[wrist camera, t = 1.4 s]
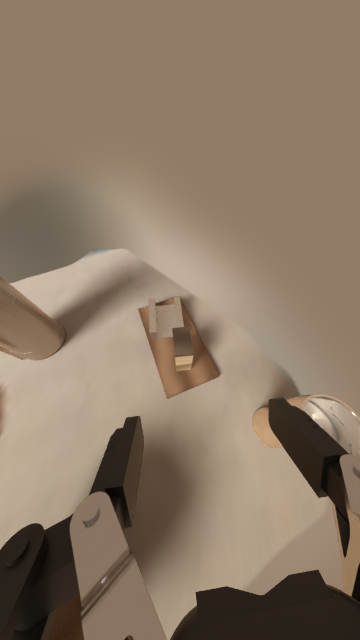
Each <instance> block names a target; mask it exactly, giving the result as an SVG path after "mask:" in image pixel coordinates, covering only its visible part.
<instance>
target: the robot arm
mask: <svg viewBox="0 0 360 640" xmlns="http://www.w3.org/2000/svg"><path fill="white" fill-rule="evenodd" d="M64 340H65V331H64V329H63V328H62V327H61V326H60V325H59V324H58V323H57V322H55V321H54V320H53V319H52V318H51V317H49V316H48V315H47V314H46V313H45V312H43V311H42V310H41V309H40V308H38V307H37V306H36V305H35V304H34V303H32V302H31V301H30V300H29V299H27V298H26V297H25V296H24V295H23V294H21V293H20V292H19V291H18V290H16V289H15V288H14V287H13V286H11V285H10V284H9V283H8V282H7V281H5V280H4V279H3V278H2V277H0V351H2V352H4V353H7V354H9V355H12V356H14V357H17V358H19V359H21V360H23V359H31V360H41V359H44V358H47V357H49V356H51V355H52V354H54V353H55V352H56V351H57V350H58V349H59V348H60V347H61V346H62V344H63V342H64ZM268 421H269V425H270V428H271V430H272V432H273V433H274V434H275V436H276V437H277V439H278V440H279V442H280V443H281V445H282V446H283V447H284V449H285V450H286V452H287V453H288V455H289V456H290V457H291V459H292V460H293V462H294V463H295V465H296V466H297V467H298V469H299V470H300V472H301V473H302V475H303V476H304V477H305V479H306V480H307V482H308V483H309V485H310V486H311V487H312V489H313V490H314V492H315V493H316V495H317V496H318V497H319V498H320V497H326V496H329V498H330V499H331V500H332V502H333V513H334V519H335V525H336V532H337V538H338V544H339V551H340V557H341V564H342V588H343V591H341V590H339V589H337V588H335V587H332V586H330V585H327V584H325V582H324V580H323V578H322V576H321V574H320V573H319V570H314V571H309V572H303V573H297V574H292V575H288V576H287V577H286V578H285V579H284V580H282V581H281V582H280V583H279V584H277V585H276V586H275V587H274V588H272V589H271V590H270V591H269V592H267V593H266V594H265V595H256V594H253V593H249V592H245V591H242V590H238V589H234V588H230V587H221V588H216V589H210V590H205V591H199V592H196V600H197V606H196V607H195V608H193V609H192V610H191V611H190V612H189V613H188V614H187V615H186V616H185V617H184V618H183V619H182V621H181V622H180V624H179V625H178V627H177V628H176V630H175V632H174V633H173V635H172V637H171V639H170V640H360V457H358V456H355V455H351V454H349V453H348V452H347V451H346V450H345V449H344V448H343V447H342V446H341V445H340V444H338V443H337V442H336V441H335V440H334V439H333V438H332V437H331V436H330V435H329V434H328V433H327V432H326V431H325V430H324V429H323V428H322V427H320V426H319V425H318V424H317V423H316V422H315V421H313V419H312V418H311V417H310V416H309V415H308V414H307V413H306V412H305V411H303V410H301V409H300V408H298V407H296V406H291V405H290V404H289V403H288V402H287V401H286V400H285V399H284V398H275V399H270V400H269V416H268ZM143 448H144V437H143V431H142V425H141V419H140V416H134V417H127V418H126V420H125V423H124V426H123V428H120V429H117V430H116V431H115V432H114V433H113V435H112V436H111V437H110V440H109V443H108V445H107V449H106V451H105V453H104V457H103V459H102V462H101V464H100V467H99V470H98V472H97V475H96V478H95V481H94V483H93V486H92V489H91V491H90V494H89V496H88V497H87V498H85V499H84V500H83V501H82V502H81V503H80V505H79V506H78V507H77V509H76V510H75V512H74V514H72V515H71V516H70V517H68V518H66V519H65V520H63V521H61V522H59V523H57V524H55V525H53V526H51V527H50V528H48V529H46V530H44V529H43V526H42V525H40V524H37V523H35V524H30V525H28V526H26V527H24V528H22V529H21V530H20V531H18V532H17V533H16V534H15V535H13V536H12V537H11V538H10V539H9V540H8V541H7V542H6V544H5V545H4V546H3V547H2V548H1V550H0V640H48V638H49V634H50V631H51V628H52V625H53V621H54V618H55V615H56V612H57V609H58V608H59V607H60V606H62V605H63V604H65V603H66V602H68V601H69V600H71V599H72V598H73V597H75V596H76V595H78V594H79V593H80V597H81V604H82V609H81V620H82V628H83V635H84V640H167V638H166V636H165V633H164V631H163V628H162V626H161V623H160V620H159V618H158V615H157V613H156V610H155V608H154V605H153V603H152V600H151V598H150V595H149V593H148V590H147V588H146V585H145V582H144V580H143V577H142V575H141V572H140V570H139V567H138V565H137V562H136V560H135V557H134V555H133V553H132V552H131V551H130V549H129V547H128V544H127V542H126V539H125V536H124V529H125V528H128V527H132V524H133V517H134V510H135V503H136V496H137V489H138V483H139V476H140V469H141V462H142V455H143Z"/></svg>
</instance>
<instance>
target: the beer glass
mask: <svg viewBox="0 0 360 640" xmlns="http://www.w3.org/2000/svg"><path fill="white" fill-rule="evenodd" d="M286 401H287V402H288V403H289V404H290V405H291V406H296V407H298V408H300V409H301V410H303V411H305V412H306V413H307V414H308V415H309V416H310V417H311V418H312V419H313V421H315V422H316V423H317V424H318V425H319V426H320V427H322V428H323V429H324V430H325V431H326V432H327V433H328V434H329V435H330V436H331V437H332V438H333V439H334V440H335V441H336V442H337V443H338V444H340V445H341V446H342V447H343V448H344V449H345V450H346V451H347V452H348V453H349V454H351V455H355V456H358V457H360V418H359V416H358V415H357V414H356V413H355V412H354V411H353V410H352V409H351V408H350V407H349V406H348V405H347V404H345V403H344V402H343V401H341V400H339V399H337V398H335V397H333V396H330V395H327V394H313V395H303V396H297V397H292V398H289V399H286ZM268 416H269V407H263V408H260V409H258V410H257V411H256V412H255V414H254V416H253V429H254V432H255V434H256V436H257V437H258V438H259V440H260V441H261V442H262V443H264V444H265V445H267V446H269V447H272V448H280V447H282V448H284V447H283V446H282V445H281V443H280V442H279V440H278V439H277V437H276V436H275V434H274V433H273V432H272V430H271V428H270V425H269V421H268Z"/></svg>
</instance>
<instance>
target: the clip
mask: <svg viewBox="0 0 360 640" xmlns="http://www.w3.org/2000/svg"><path fill="white" fill-rule="evenodd" d="M178 327H184V323H183V316H182V309H181V302H180V296H176V297H174V304H172V305H162V306H156V302H155V298H154V299H149V328H150V335H151V338H152V339H161V338H170V337H173V333H172V328H178Z"/></svg>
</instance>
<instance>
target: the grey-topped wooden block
mask: <svg viewBox="0 0 360 640" xmlns="http://www.w3.org/2000/svg"><path fill="white" fill-rule="evenodd" d="M172 333H173V343H174V353H175V362H176V371H182V370H190V369H191V367H192V361H193V355H194V352H193V346H192V340H191V334H190V328H189V326H187V327H178V328H172Z"/></svg>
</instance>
